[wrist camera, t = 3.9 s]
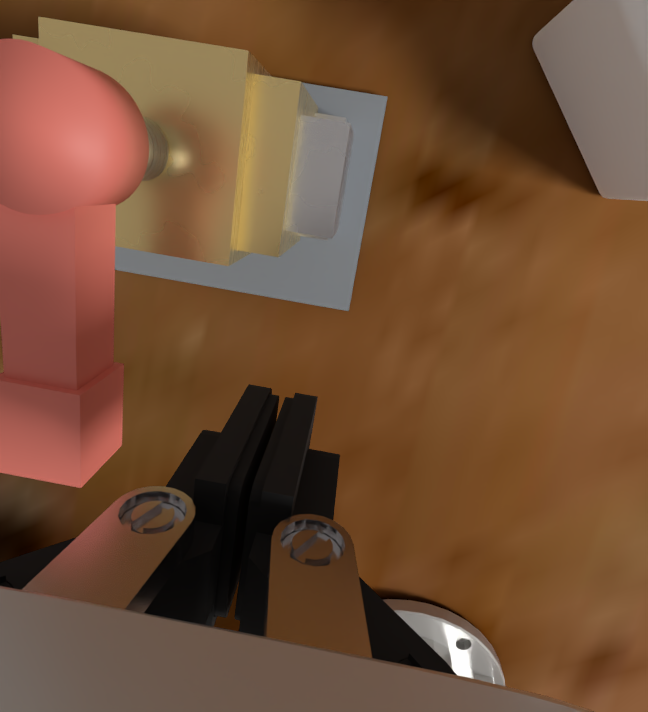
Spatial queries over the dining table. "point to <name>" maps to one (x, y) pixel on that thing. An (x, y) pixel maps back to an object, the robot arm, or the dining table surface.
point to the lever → (61, 260)
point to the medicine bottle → (603, 88)
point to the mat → (308, 256)
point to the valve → (216, 146)
